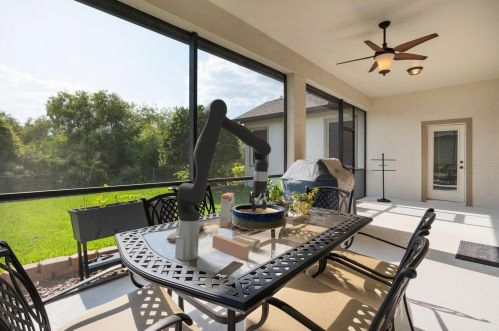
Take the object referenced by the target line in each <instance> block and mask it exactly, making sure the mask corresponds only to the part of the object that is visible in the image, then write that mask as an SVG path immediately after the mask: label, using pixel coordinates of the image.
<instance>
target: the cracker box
mask: <svg viewBox="0 0 499 331" xmlns="http://www.w3.org/2000/svg"><path fill="white" fill-rule="evenodd" d="M235 196H236V193H235V192H226V193H223V194H221V198H220V208H219V209H220V213H219V225H218V226H219V228H226V229H228V228H229V227H230V226H231V225H232V224H233V223H232V215H231V210H232V208H233V207H234V208H235Z"/></svg>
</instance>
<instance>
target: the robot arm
mask: <svg viewBox="0 0 499 331" xmlns="http://www.w3.org/2000/svg"><path fill="white" fill-rule="evenodd" d="M203 110H204V116H205V118H206V119H207V120H206V124H205V125H204V128H203V129H202V131H201V133H200V135H199V137H198V139H197V141H196V143H195V146H194V147H195V148H194V151H193V161H194V164H195V168H196V174H195V180H194V182H193V183H191V182H190V183H189V182H183V183H181V184H180V185H179V187H178V189H177V197H176V201H177V202H176V204H177V206H176V209H177V211H176V212H177V214H178V215H177V216H178V223H177V224H178V227H177V231H178V236H176V243H175V247H174V248H175V249H174V250H175V252H174V254H175V255H174V258H177V259H178V260H180V261H182V262H185V261H193V260H196V259H198V256H199V241H200V240H199V239H200V231H199V223H201V221H200V218H201V217H200V216H201V214H200V212H199V211H197V209H195V207H194V206H199V205H201V204H202V203H203V201H204V199H205V197H206V196H205V195H206V193H207V192H206V191H207V186H208V180H209V174H210V171H211V167H212V163H213V160H214V156H215V152H216V149H217V145H218V141H219V136H220V133H221V129H224V130H225V131H227V132H228V133H230V134H232V135H233V136H235V137H236V138H238V140H240V141H241V142H242V143H243V144H245V145H247V146H248V147H250V148H253V159H254V171H253V172H254V174H253V185H252V188H253V191H249V198H248V199H249V200H248V203H249V204H251V211H252V212H257V203H258V202H259V200H261V201H262V202H261V209H262V210H266V209H267V203H268V202H269V201H270V190H268V183H269V180H268V179H269V175H268V170H269V163H268V162H269V161H267V160H266V156H268V155H269V154H271V151H272V147H271V145H270V143H268V141H266V140H264V139H263V138H261V137H259V136H257V135H256V134H255V133H254V132H253V131H252V130H250V129H249V128H248V127H246V126H245V125H243V124H240V123H238V122H236V121H234V120H232V119H231V118H229V117H228V116H227V113H228V107H227V103H226V102H225V101H224V100H223V99H222V98H221V99H220V98H217V99H214V100H212V101H210V103H208V104H206V106H205V107H204V109H203Z"/></svg>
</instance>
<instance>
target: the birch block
mask: <svg viewBox="0 0 499 331" xmlns="http://www.w3.org/2000/svg"><path fill="white" fill-rule="evenodd" d="M234 240H235V241H237V242H240V243H243V244H246V245H249V252H251V253H252V252H255V251H258V250H260V249H261V239H259V238H256V237H253V236H251V235H250V236H249V235H247V234H238V235H235V238H234Z"/></svg>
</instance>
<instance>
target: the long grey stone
mask: <svg viewBox="0 0 499 331" xmlns="http://www.w3.org/2000/svg"><path fill="white" fill-rule="evenodd" d="M203 228H204V224H203V223H202V222H200V223H199V232H200V231H202V229H203ZM176 236H178V230H176V231H175V232H173V233H171V234H169V235H168V236H167V237H166V241H167V242H168V243H171V244H176Z"/></svg>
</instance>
